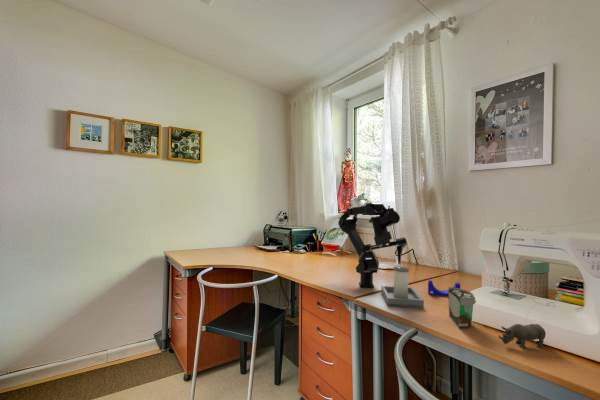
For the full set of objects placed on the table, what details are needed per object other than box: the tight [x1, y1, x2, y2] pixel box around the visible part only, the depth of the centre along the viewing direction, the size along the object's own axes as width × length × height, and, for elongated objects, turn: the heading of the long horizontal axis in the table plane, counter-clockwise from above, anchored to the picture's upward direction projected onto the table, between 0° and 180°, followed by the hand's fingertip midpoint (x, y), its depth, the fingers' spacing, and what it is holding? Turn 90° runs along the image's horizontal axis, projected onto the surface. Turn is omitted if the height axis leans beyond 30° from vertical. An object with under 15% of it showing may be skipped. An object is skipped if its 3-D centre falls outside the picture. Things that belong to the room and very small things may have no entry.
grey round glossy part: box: [393, 265, 410, 299], centre depth 113 cm, size 6×6×12 cm
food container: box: [447, 286, 477, 330], centre depth 92 cm, size 12×6×10 cm, turn 168°
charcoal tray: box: [380, 285, 425, 309], centre depth 113 cm, size 16×13×3 cm
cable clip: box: [427, 278, 461, 298], centre depth 120 cm, size 12×4×6 cm, turn 69°
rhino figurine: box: [498, 323, 546, 350], centre depth 78 cm, size 4×14×6 cm, turn 93°
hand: (388, 265), depth 117 cm, fingers open, 9 cm apart
